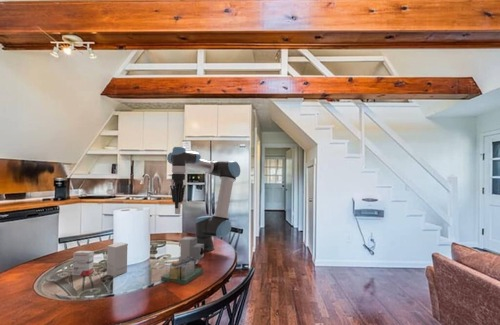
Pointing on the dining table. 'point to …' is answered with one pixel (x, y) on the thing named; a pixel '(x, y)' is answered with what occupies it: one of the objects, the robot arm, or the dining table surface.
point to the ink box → (83, 263)
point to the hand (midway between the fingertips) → (177, 213)
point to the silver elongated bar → (182, 261)
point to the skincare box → (117, 259)
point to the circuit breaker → (191, 248)
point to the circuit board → (182, 273)
